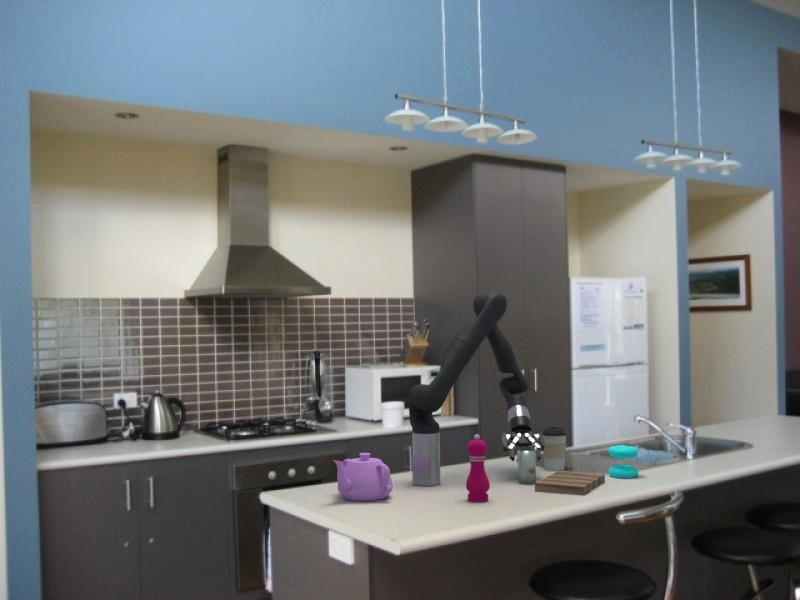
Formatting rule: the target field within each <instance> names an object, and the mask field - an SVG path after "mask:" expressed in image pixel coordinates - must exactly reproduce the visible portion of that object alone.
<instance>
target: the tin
mask: <svg viewBox="0 0 800 600" xmlns="http://www.w3.org/2000/svg"><path fill="white" fill-rule="evenodd" d="M516 451H517V452H516V453H517V454H516V455H517V484H519V485H524V486H525V485H527V486H529V485H530V486H533V485H535V483H536V482H537V468H536V467H537V463H536V462H537V457H536V450H535V449H532V448H518V449H517V450H516Z"/></svg>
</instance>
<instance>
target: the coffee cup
mask: <svg viewBox="0 0 800 600" xmlns="http://www.w3.org/2000/svg"><path fill="white" fill-rule="evenodd" d="M541 433H542V434H543V438H544V442H545V449H544V450H543V451H542V452H543V454H542V455H543V459H544V460H543V462H544V469H545V470H546V471H552V472H553V471H554V472H558V471H564V470H565V467H566V466H565V464H566V463H565V462H566V454H567V452H566V451H567V441H566V440H567V436H568V435H567V431H566V430H564V428H560V427H559V426H550V427H545V428H544V430H543V431H541Z"/></svg>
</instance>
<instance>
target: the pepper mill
mask: <svg viewBox="0 0 800 600" xmlns="http://www.w3.org/2000/svg"><path fill="white" fill-rule="evenodd" d="M467 443H468V444H467V447H466V450H467V452H468V453H469V456H468V457H469V459H468V460H469V461H470V470H469V474H468V476H467V477H466V480H465V481H466V482H465V488H466V490H467V491H468V494H467V501H468V502H471V503H485V502H489V494H488V491H489V490H490V488H491V487H490V485H491V484H490V480H489V477H488V476H487V472H486V470H485V461H486V460H487V459H486V452H487V451H488V446H487V443H486V442H485V441H484V439H483V440H482V439H481V436H480V434H477V433H476V434H474V436H473V439H472V440H470V441H469V442H467Z"/></svg>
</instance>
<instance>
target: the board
mask: <svg viewBox="0 0 800 600" xmlns="http://www.w3.org/2000/svg"><path fill="white" fill-rule="evenodd" d="M605 482H606V475H605V474H603V473H590V472H576V471H564V470H560V471H555V472H553V473H551V474H550V475H548V476H546V477H544V478H542V479H540V480H538V481H536V483H535V484H534V491H535V492H541V493H542V492H543V493H551V494H552V493H554V494H562V493H563V494H566V495H577V496H586V495H587V494H588V493H591V492H592V491H593V490H595V489H596V488H598V487H599V486H600V484H601V485H602V484H604V483H605ZM597 486H598V487H597ZM594 488H595V489H594ZM591 490H592V491H591Z"/></svg>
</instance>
